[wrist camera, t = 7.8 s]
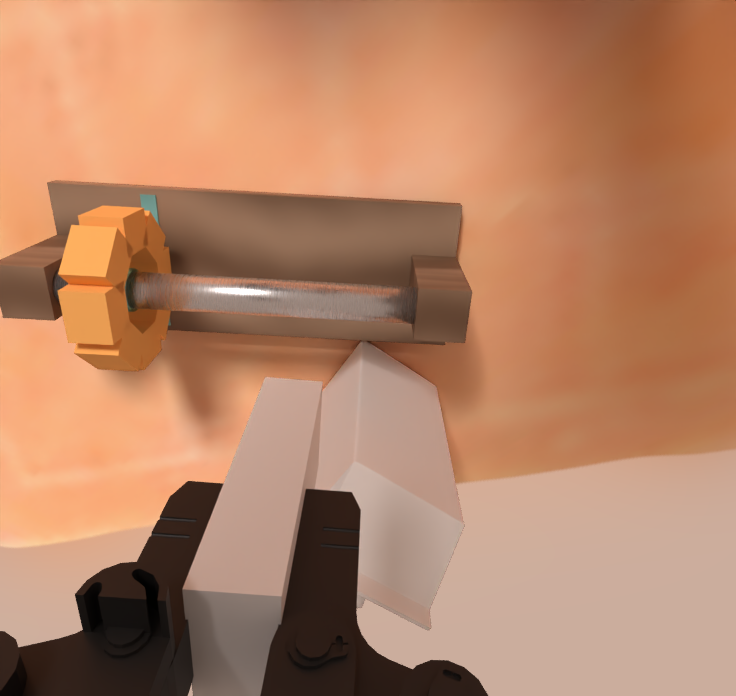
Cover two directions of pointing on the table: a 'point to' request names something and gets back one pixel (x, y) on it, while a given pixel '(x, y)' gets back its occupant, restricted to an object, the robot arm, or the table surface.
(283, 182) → the table surface
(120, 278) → the ring
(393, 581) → the milk carton
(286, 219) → the rack
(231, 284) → the pipe
